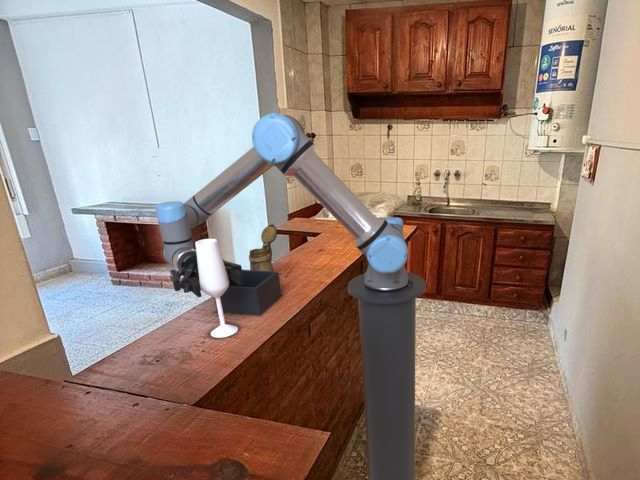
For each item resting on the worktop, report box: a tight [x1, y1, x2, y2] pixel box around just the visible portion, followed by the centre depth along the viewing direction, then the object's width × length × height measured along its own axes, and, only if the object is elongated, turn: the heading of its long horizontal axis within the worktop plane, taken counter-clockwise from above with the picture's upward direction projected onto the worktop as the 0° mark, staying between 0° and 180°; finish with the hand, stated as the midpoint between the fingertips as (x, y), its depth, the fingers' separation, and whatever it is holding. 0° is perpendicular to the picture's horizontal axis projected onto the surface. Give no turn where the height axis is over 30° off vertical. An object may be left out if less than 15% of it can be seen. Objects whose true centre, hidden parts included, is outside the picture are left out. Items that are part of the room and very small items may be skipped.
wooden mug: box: [248, 223, 278, 271], centre depth 133 cm, size 9×14×18 cm, turn 159°
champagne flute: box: [195, 238, 239, 339], centre depth 98 cm, size 7×7×24 cm
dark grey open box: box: [213, 269, 282, 316], centre depth 117 cm, size 14×14×8 cm
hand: (220, 285), depth 94 cm, fingers open, 9 cm apart
